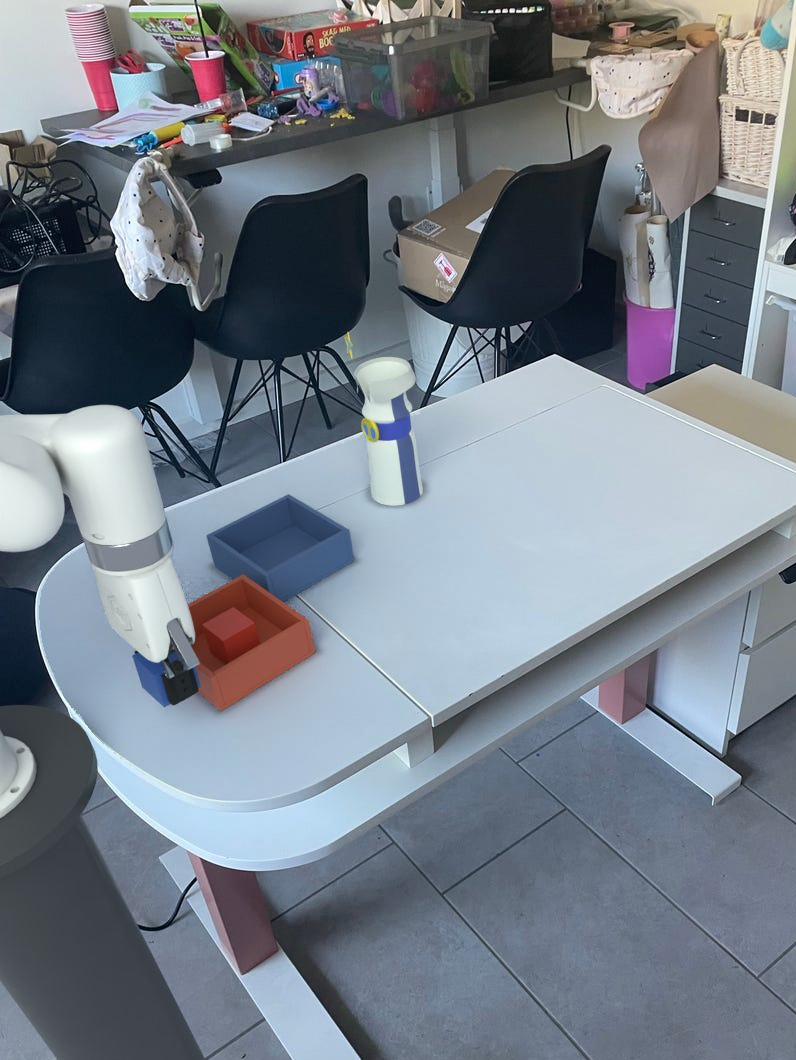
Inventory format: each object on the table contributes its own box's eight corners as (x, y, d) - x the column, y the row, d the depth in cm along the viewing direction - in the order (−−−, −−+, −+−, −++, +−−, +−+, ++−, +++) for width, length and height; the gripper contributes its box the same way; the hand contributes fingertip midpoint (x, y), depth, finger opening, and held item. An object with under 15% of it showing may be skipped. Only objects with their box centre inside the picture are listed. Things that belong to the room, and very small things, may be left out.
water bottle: (394, 514, 134) (373, 346, 118) (357, 493, 139) (332, 329, 123) (437, 491, 138) (422, 326, 122) (400, 471, 143) (381, 310, 127)
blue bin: (273, 608, 119) (265, 575, 116) (214, 566, 126) (205, 535, 123) (354, 561, 126) (349, 529, 123) (294, 524, 133) (288, 493, 130)
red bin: (221, 711, 105) (210, 678, 102) (159, 658, 113) (147, 625, 109) (316, 652, 112) (309, 619, 109) (251, 606, 119) (243, 573, 116)
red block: (231, 669, 110) (222, 640, 107) (210, 652, 112) (201, 624, 109) (262, 650, 112) (254, 622, 109) (241, 634, 114) (233, 606, 111)
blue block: (164, 707, 96) (154, 675, 93) (142, 687, 99) (131, 655, 96) (201, 687, 99) (192, 655, 96) (178, 667, 101) (170, 636, 98)
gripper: (48, 521, 89) (98, 665, 101) (138, 596, 80) (183, 745, 92) (120, 492, 93) (160, 634, 105) (214, 560, 84) (247, 707, 96)
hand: (170, 684), depth 98 cm, fingers closed on blue block, 4 cm apart
